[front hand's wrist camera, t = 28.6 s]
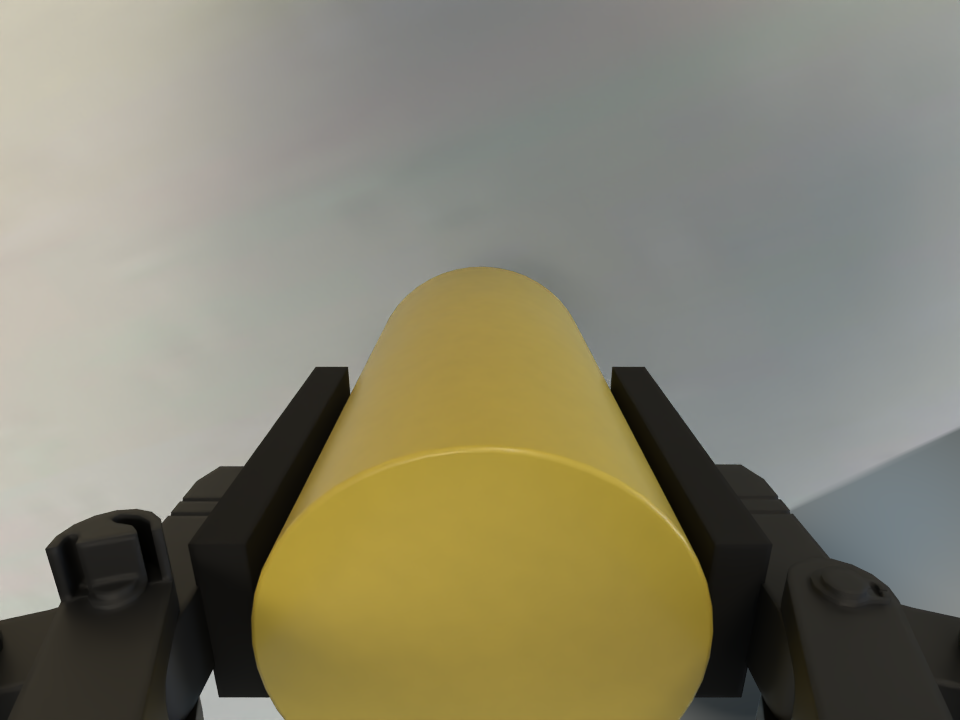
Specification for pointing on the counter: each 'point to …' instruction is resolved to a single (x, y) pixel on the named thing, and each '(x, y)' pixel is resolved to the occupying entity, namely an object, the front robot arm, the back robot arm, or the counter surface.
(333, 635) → the canister
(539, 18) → the counter surface
